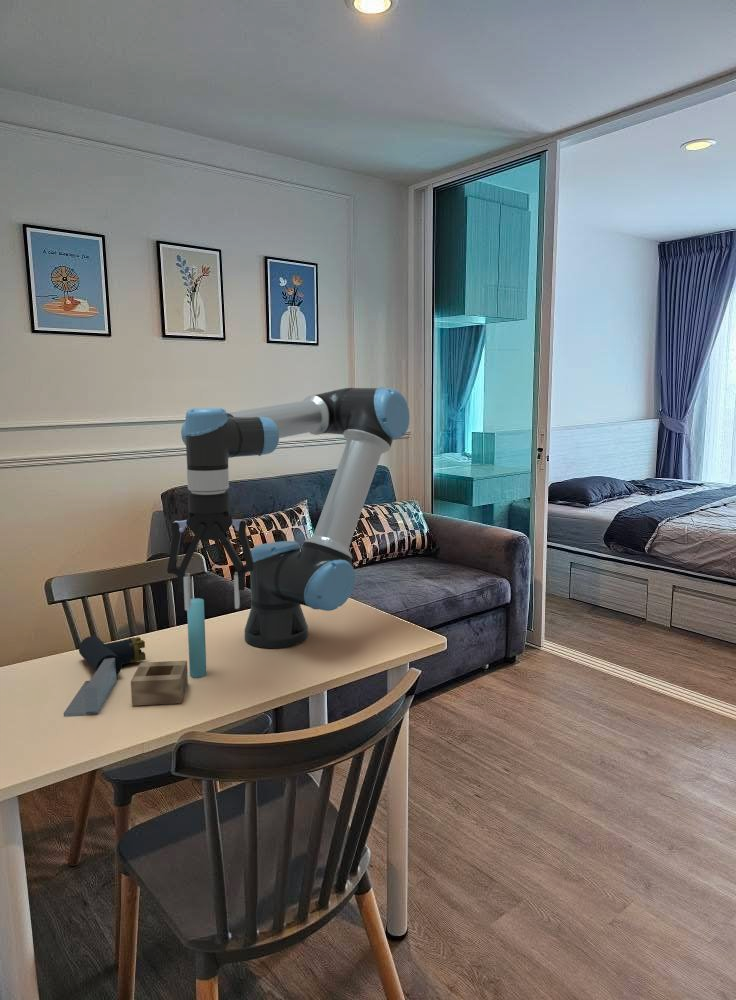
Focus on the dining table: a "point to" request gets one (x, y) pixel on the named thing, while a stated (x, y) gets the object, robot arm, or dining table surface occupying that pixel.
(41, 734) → the dining table surface
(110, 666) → the grey wedge ramp
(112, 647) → the pipe connector
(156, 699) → the socket block
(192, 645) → the dowel
